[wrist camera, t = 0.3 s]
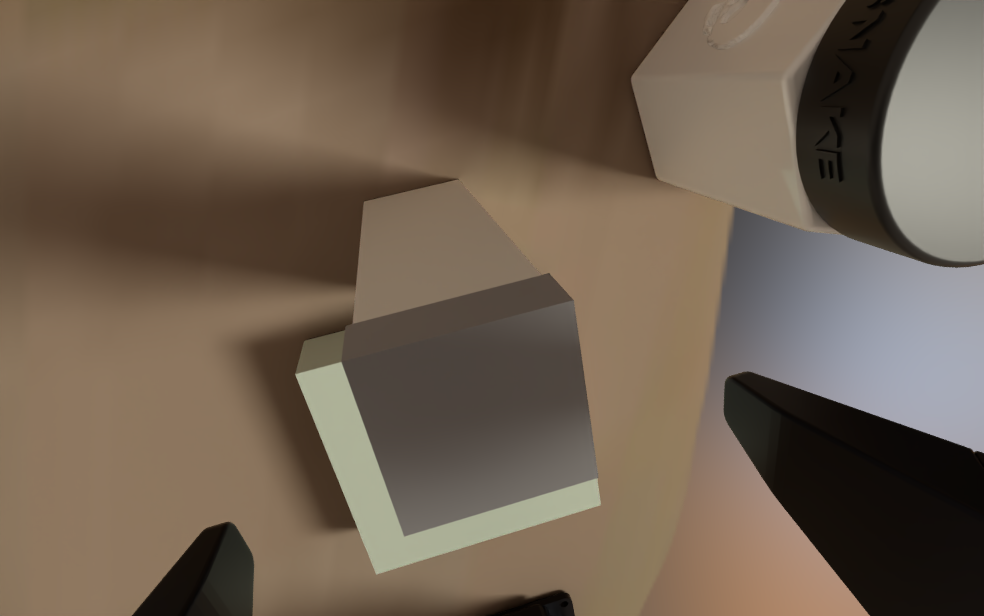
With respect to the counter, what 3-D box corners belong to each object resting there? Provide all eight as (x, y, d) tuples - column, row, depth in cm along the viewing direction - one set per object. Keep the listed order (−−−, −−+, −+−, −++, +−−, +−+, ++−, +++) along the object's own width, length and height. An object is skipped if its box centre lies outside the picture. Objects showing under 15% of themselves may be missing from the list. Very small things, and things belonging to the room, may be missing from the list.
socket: (580, 466, 30) (600, 505, 27) (376, 527, 28) (376, 574, 26) (550, 277, 25) (572, 300, 22) (304, 340, 24) (295, 374, 21)
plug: (480, 269, 24) (598, 478, 11) (388, 292, 24) (404, 537, 11) (460, 176, 22) (573, 299, 10) (360, 199, 22) (341, 361, 9)
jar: (736, -77, 21) (1135, -251, 10) (847, 65, 24) (1244, 51, 13) (589, 120, 22) (791, 156, 12) (711, 229, 26) (959, 336, 15)
